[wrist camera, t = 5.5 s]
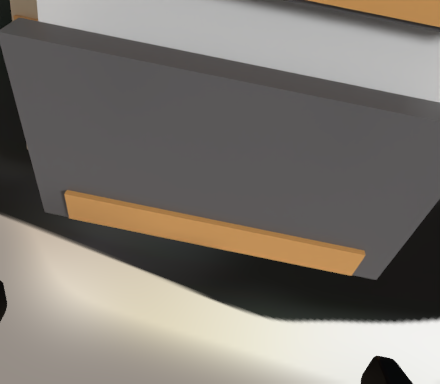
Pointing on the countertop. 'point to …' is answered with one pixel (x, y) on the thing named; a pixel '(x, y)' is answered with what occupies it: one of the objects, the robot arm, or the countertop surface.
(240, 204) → the switch
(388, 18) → the switch middle
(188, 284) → the countertop surface
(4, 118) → the countertop surface
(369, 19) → the switch unit
